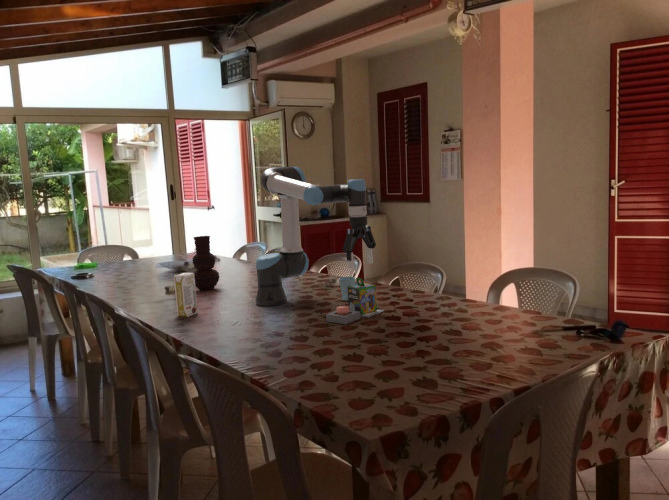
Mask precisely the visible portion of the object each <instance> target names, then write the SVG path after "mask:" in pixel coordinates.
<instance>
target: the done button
mask: <svg viewBox="0 0 669 500" xmlns="http://www.w3.org/2000/svg"><path fill="white" fill-rule="evenodd" d="M336 311H337V314H338V315H347V314H349V305H339V306H336Z"/></svg>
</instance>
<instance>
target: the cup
mask: <svg viewBox="0 0 669 500" xmlns="http://www.w3.org/2000/svg"><path fill="white" fill-rule="evenodd" d="M338 279H339V280H338V281H339V286H340V293H341V298H342V299H341V300H342V301H345V302H346V301H348V289H347V287H348V286H351V285H354V284H356V277H355V276H342V277H341V276H340V277H339V278H338Z"/></svg>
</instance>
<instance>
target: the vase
mask: <svg viewBox="0 0 669 500" xmlns="http://www.w3.org/2000/svg"><path fill="white" fill-rule="evenodd" d="M210 238H211V235H200V236H194V237H193V240H194V246H195V255H193V256H192V260H191V261H192V265H193V267H194V269H195V270H196V271H194V272H193V273H194V276H195V287H196V288H197V289H198V291H199V292H210V291H211V292H212V291H214V289H215V287H216V286H217V284H218V283H219V281H220V272H218V271H217V269H213V268H214V267H215V264H216V256H215V255H214V254H213V253H211V245H210V244H211V241H210V240H211V239H210Z"/></svg>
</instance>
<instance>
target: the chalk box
mask: <svg viewBox="0 0 669 500" xmlns="http://www.w3.org/2000/svg"><path fill="white" fill-rule="evenodd" d="M355 282H356V283H355V284H354V285H351V286H348V287H347V289H348V306H349V310H352V311H359V312H360V315H362V314H366V313H369V312H374V311H377V309H378V303H377V285H376V284H373V283H365V282H364V280H363V278H361V277H355Z"/></svg>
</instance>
